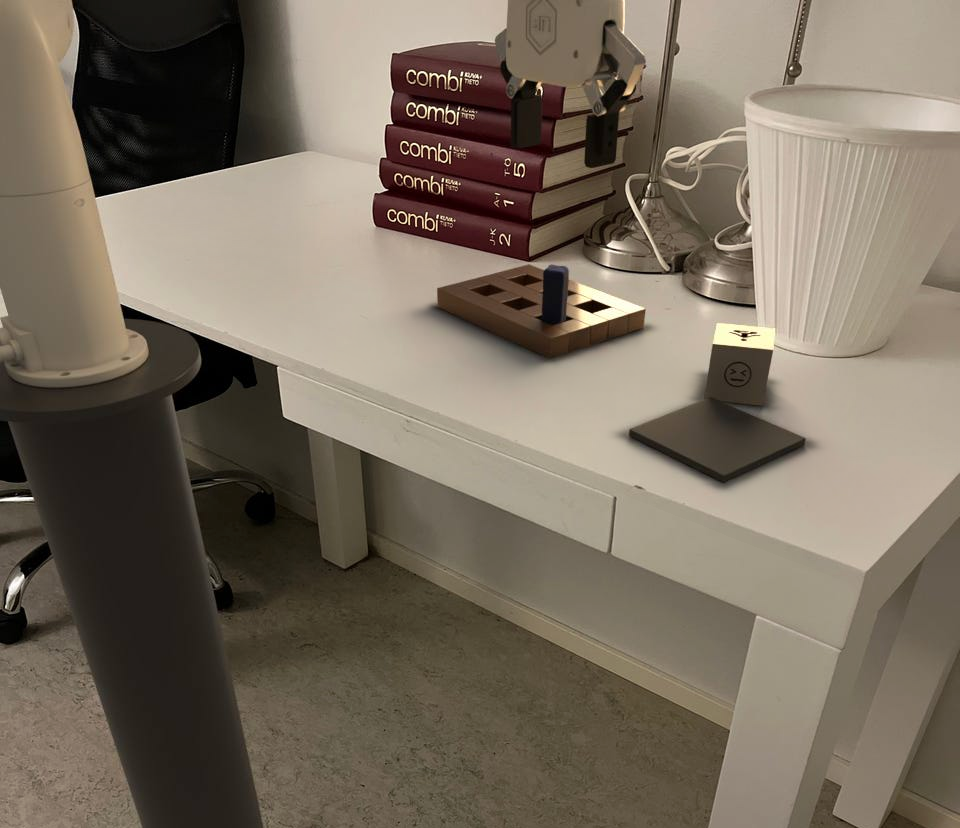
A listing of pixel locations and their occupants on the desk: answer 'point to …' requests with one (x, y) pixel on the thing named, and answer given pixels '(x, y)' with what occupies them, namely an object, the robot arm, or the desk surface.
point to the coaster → (717, 438)
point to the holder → (539, 311)
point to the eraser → (555, 294)
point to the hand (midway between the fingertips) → (561, 155)
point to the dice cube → (740, 363)
